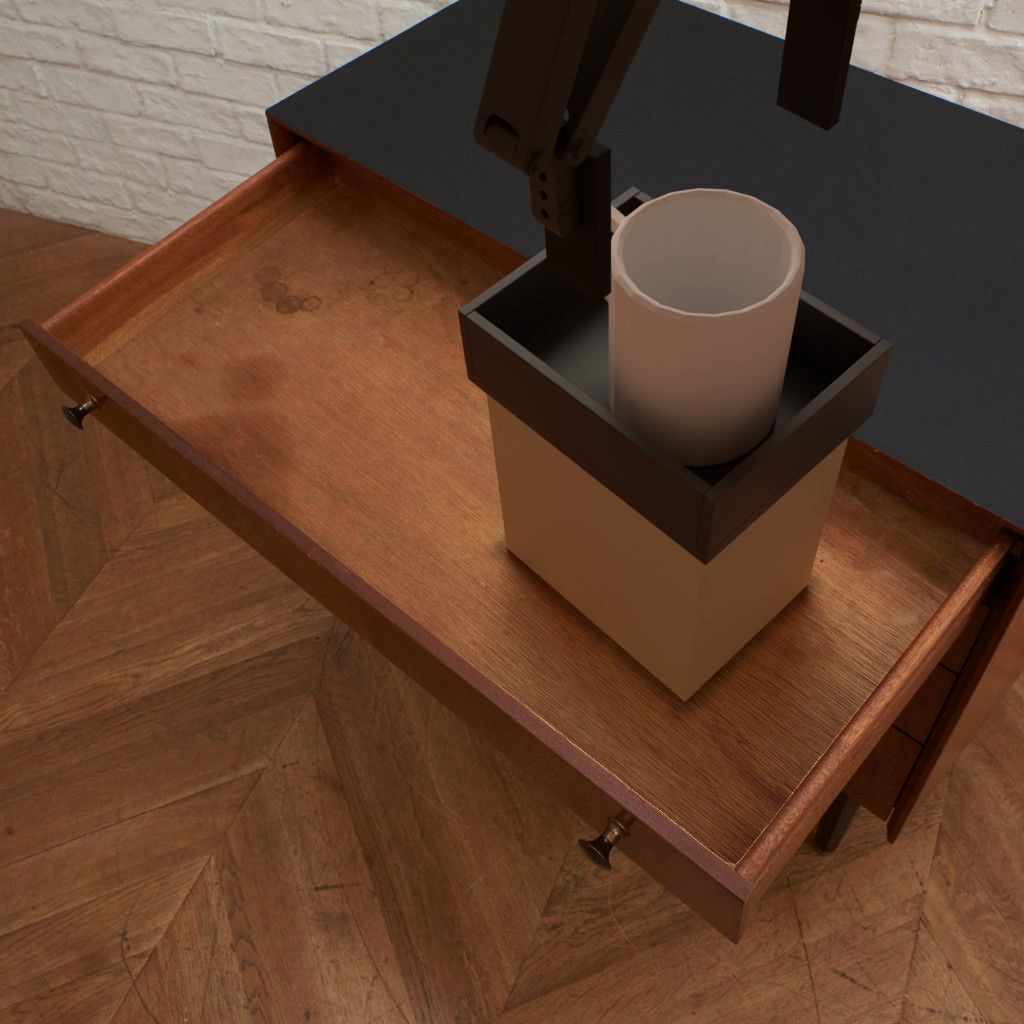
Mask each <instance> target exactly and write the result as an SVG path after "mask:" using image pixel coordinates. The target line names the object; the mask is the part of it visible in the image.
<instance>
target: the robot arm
mask: <svg viewBox="0 0 1024 1024" xmlns="http://www.w3.org/2000/svg"><path fill="white" fill-rule="evenodd" d="M661 1H662V0H505V2H504V6H503V10H502V14H501V18H500V21H499V26H498V30H497V34H496V38H495V41H494V46H493V49H492V54H491V57H490V61H489V66H488V70H487V73H486V78H485V82H484V86H483V90H482V94H481V96H480V97H481V98H480V102H479V106H478V110H477V113H476V117H475V121H474V126H473V132H472V138H473V140H474V142H475V143H476V144H477V145H478V146H480V147H481V148H483V149H484V150H486V151H488V152H489V153H491V154H492V155H494V156H495V157H497V158H499V159H500V160H502V161H504V162H505V163H507V164H509V165H510V166H511V167H513V168H515V169H516V170H517V171H519V172H521V173H522V174H524V175H525V176H527V177H528V182H529V184H528V185H529V196H530V197H529V198H530V209H531V211H530V212H531V215H532V216H533V218H534V219H535V221H536V222H537V223H539V224H540V225H542V226H543V227H544V242H545V248H546V259H547V269H548V270H549V271H551V272H552V273H554V274H555V275H557V276H558V277H560V278H561V279H563V280H564V281H566V282H567V283H569V284H570V285H572V286H573V287H575V288H576V289H577V290H579V291H580V292H582V293H583V294H585V295H586V296H588V297H589V298H591V299H592V300H594V301H595V302H597V303H598V302H599V301H601V300H602V299H603V298H605V297H606V296H607V295H609V294H610V293H611V202H612V149H611V148H610V147H609V146H607V145H606V144H604V143H602V142H600V141H599V140H598V139H597V137H598V135H599V134H600V132H601V129H602V127H603V125H604V122H605V120H606V118H607V116H608V114H609V112H610V109H611V108H612V106H613V104H614V101H615V99H616V97H617V95H618V92H619V91H620V88H621V86H622V84H623V83H624V80H625V78H626V77H627V74H628V72H629V70H630V67H631V65H632V63H633V61H634V59H635V57H636V55H637V52H638V50H639V48H640V47H641V44H642V42H643V39H644V38H645V35H646V34H647V31H648V29H649V27H650V25H651V22H652V20H653V19H654V16H655V14H656V12H657V10H658V7H659V6H660V3H661ZM862 4H863V0H789V5H788V13H787V20H786V27H785V36H784V43H783V51H782V58H781V65H780V73H779V80H778V87H777V95H776V101H775V102H776V103H775V106H777V107H779V108H782V109H784V110H785V111H787V112H790V113H791V114H793V115H794V116H797V117H799V118H801V119H803V120H804V121H807V122H809V123H811V124H812V125H814V126H816V127H818V128H820V129H822V130H823V131H826V132H829V130H831V129H833V128H834V127H835V126H836V125H837V124H839V122H840V117H841V113H842V112H841V111H842V107H843V101H844V95H845V91H846V86H847V85H846V84H847V80H848V75H849V69H850V65H851V59H852V54H853V50H854V49H853V48H854V42H855V37H856V32H857V28H858V27H857V26H858V23H859V20H860V14H861V10H862ZM566 111H567V113H568V117H567V118H566V117H565V113H566Z"/></svg>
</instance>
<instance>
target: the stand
mask: <svg viewBox="0 0 1024 1024" xmlns="http://www.w3.org/2000/svg"><path fill="white" fill-rule="evenodd" d="M485 394H486V393H485ZM486 402H487V410H488V416H489V417H488V418H489V424H490V431H491V438H492V439H491V440H492V447H493V455H494V462H495V463H494V464H495V470H496V476H497V477H496V478H497V485H498V494H499V499H500V505H501V506H500V507H501V514H502V522H503V531H504V537H505V546H506V549H507V550H509V551H510V552H511V553H512V554H513V555H514V556H515V557H517V558H518V559H519V560H520V561H521V562H523V563H524V564H525V565H526V566H527V567H528V568H529V569H530V570H532V571H533V572H534V573H535V574H536V575H538V577H540V578H541V579H542V580H543V581H544V582H545V583H547V584H548V585H549V586H550V587H551V588H552V589H553V590H555V592H557V593H558V594H559V595H560V596H561V597H563V598H564V599H565V600H566V601H568V603H569V604H571V605H572V606H573V607H575V608H576V609H577V610H578V611H579V612H580V613H582V615H584V616H585V617H586V618H587V619H588V620H589V621H591V622H592V623H593V624H594V625H595V626H597V628H598V629H600V630H601V631H602V632H603V633H605V635H607V636H608V637H609V638H610V639H611V640H612V641H614V642H615V643H616V644H617V645H618V646H620V647H621V648H622V649H623V650H624V651H625V652H626V653H628V654H629V655H630V656H631V657H632V659H635V661H636V662H638V663H639V664H640V665H641V666H643V667H644V668H645V669H646V670H647V671H648V672H650V673H651V674H652V676H654V677H655V678H656V679H657V680H659V681H660V682H661V683H662V684H663V685H665V687H667V688H668V689H669V690H670V691H671V692H672V693H674V694H675V695H676V696H677V697H678V698H679V699H680V700H682V701H683V702H684V703H685V702H687V701H688V700H690V698H691V697H692V696H693V695H694V694H695V693H696V692H697V691H699V689H700V688H702V687H703V686H704V685H705V684H706V683H707V682H708V681H709V680H710V679H711V678H712V677H713V676H714V675H715V674H716V673H717V672H718V671H719V670H720V669H721V668H722V667H723V666H725V665H726V663H728V662H729V661H730V660H731V659H732V658H733V657H734V656H735V655H736V654H737V653H738V652H739V651H741V650H742V648H743V647H744V646H746V645H747V644H748V643H749V642H750V641H751V640H752V639H753V638H754V637H756V635H757V634H758V633H759V632H760V631H761V630H762V629H763V628H764V627H765V626H767V625H768V624H769V622H771V621H772V620H773V619H774V618H775V617H776V616H777V615H778V614H779V613H780V612H781V611H782V610H783V609H784V608H785V607H786V606H788V604H790V603H791V602H792V601H793V600H794V599H795V598H796V597H797V596H798V595H799V594H800V593H801V592H802V591H803V590H804V589H806V587H807V586H808V585H809V582H810V578H811V574H812V571H813V568H814V563H815V559H816V556H817V554H818V550H819V546H820V542H821V538H822V535H823V532H824V527H825V525H826V520H827V517H828V514H829V510H830V506H831V504H832V503H831V502H832V499H833V495H834V492H835V488H836V484H837V480H838V477H839V474H840V470H841V467H842V463H843V459H844V455H845V452H846V449H847V445H848V441H849V438H850V436H849V437H848V438H847V439H845V440H844V441H843V442H842V443H841V444H840V445H839V446H838V447H837V448H836V449H834V450H833V451H832V452H831V453H830V454H829V455H828V456H827V457H826V458H824V459H823V460H822V461H821V462H820V463H819V464H818V465H817V466H816V467H814V468H813V469H812V470H811V471H810V472H809V473H808V474H807V475H806V476H805V477H803V478H802V479H801V480H800V481H799V482H798V483H797V484H796V485H795V486H793V487H792V488H791V489H790V490H789V491H788V492H787V493H786V494H785V495H783V496H782V497H781V498H780V499H779V500H778V501H777V502H776V503H775V504H773V505H772V506H771V507H770V508H769V509H768V510H767V511H766V512H765V513H764V514H762V515H761V516H760V517H759V518H758V519H757V520H756V521H755V522H754V523H752V524H751V525H750V526H749V527H748V528H747V529H746V530H745V531H744V532H742V533H741V534H740V535H739V536H738V537H737V538H736V539H735V540H734V541H733V542H731V543H730V544H729V545H728V546H727V547H726V548H725V549H724V550H723V551H721V552H720V553H719V554H718V555H717V556H716V557H715V558H714V559H713V560H711V561H710V562H709V563H708V564H707V565H704V564H703V563H701V562H700V561H699V560H698V559H696V558H695V557H694V556H693V555H691V554H690V553H689V552H687V551H686V550H685V549H684V548H682V547H681V546H680V545H679V544H677V543H676V542H675V541H673V540H672V539H671V538H670V537H668V536H667V535H666V534H665V533H663V532H662V531H661V530H659V529H658V528H657V527H656V526H654V525H653V524H652V523H651V522H649V521H648V520H647V519H645V518H644V517H643V516H642V515H640V514H639V513H638V512H637V511H635V510H634V509H633V508H631V507H630V506H629V505H628V504H626V503H625V502H624V501H623V500H621V499H620V498H619V497H617V496H616V495H615V494H614V493H612V492H611V491H610V490H609V489H607V488H606V487H605V486H603V485H602V484H601V483H600V482H598V481H597V480H596V479H595V478H593V477H592V476H591V475H589V474H588V473H587V472H586V471H584V470H583V469H582V468H581V467H579V466H578V465H577V464H575V463H574V462H573V461H572V460H570V459H569V458H568V457H567V456H565V455H564V454H563V453H561V452H560V451H559V450H558V449H556V448H555V447H554V446H553V445H551V444H550V443H549V442H548V441H546V440H545V439H544V438H542V437H541V436H540V435H539V434H537V433H536V432H535V431H534V430H532V429H531V428H530V427H528V426H527V425H526V424H525V423H523V422H522V421H521V420H520V419H518V418H517V417H516V416H514V415H513V414H512V413H511V412H509V411H508V410H507V409H506V408H504V407H503V406H502V405H500V404H499V403H498V402H497V401H495V400H494V399H493V398H492V397H490V396H489V395H488V394H486Z"/></svg>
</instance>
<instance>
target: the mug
mask: <svg viewBox="0 0 1024 1024" xmlns="http://www.w3.org/2000/svg"><path fill="white" fill-rule="evenodd" d="M653 199H654V200H651V201H649V202H646V203H644V204H642V205H641V206H640V207H639V208H637V209H636V210H635V211H633V212H632V213H631V214H629V215H628V216H627V217H625V216H624V215H623V214H621V213H620V212H619V211H618V210H617V209H616V208H615V207H613V206H612V205H611V231H612V232H613V233H614V235H613V236H612V240H611V293H610V294H609V295H607V296H606V297H605V299H606V301H607V302H608V303H609V406H610V410H611V412H612V413H613V414H615V415H616V416H617V417H619V418H620V419H621V420H623V421H624V422H625V423H627V424H628V425H629V426H631V427H632V428H633V429H635V430H636V431H637V432H639V433H640V434H642V435H643V436H644V437H646V438H647V439H648V440H650V441H651V442H652V443H654V444H655V445H656V446H658V447H659V448H660V449H662V450H663V451H664V452H666V453H667V454H668V455H670V456H671V457H672V458H674V459H675V460H677V461H678V462H679V463H681V464H682V465H683V466H692V467H704V466H710V465H716V464H722V463H727V462H729V461H731V460H733V459H736V458H738V457H740V456H742V455H744V454H746V453H748V452H750V451H751V450H752V449H753V448H754V447H755V446H756V445H757V444H758V443H760V442H761V441H762V440H763V439H764V438H765V437H766V436H767V435H768V433H769V431H770V429H771V427H772V425H773V423H774V421H775V419H776V417H777V413H778V408H779V402H780V397H781V392H782V386H783V381H784V376H785V370H786V365H787V360H788V355H789V349H790V344H791V339H792V333H793V328H794V323H795V317H796V312H797V307H798V301H799V296H800V291H801V289H802V285H803V280H804V276H805V267H806V266H805V265H806V263H805V262H806V246H805V245H804V242H803V240H802V238H801V236H800V234H799V230H798V229H797V227H796V226H795V225H794V224H793V223H792V222H791V221H790V220H789V219H788V218H787V217H786V216H785V215H784V214H783V213H782V212H781V211H780V210H779V209H777V208H775V207H773V206H771V205H770V204H768V203H766V202H764V201H762V200H761V199H758V198H757V197H755V196H753V195H748V194H745V193H741V192H736V191H734V190H729V189H726V188H725V189H724V188H723V189H721V188H705V187H704V188H702V187H698V188H691V189H684V190H678V191H672V192H668V193H666V194H663V195H661V196H659V197H656V198H653Z"/></svg>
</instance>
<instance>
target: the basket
mask: <svg viewBox="0 0 1024 1024" xmlns="http://www.w3.org/2000/svg"><path fill="white" fill-rule="evenodd" d="M654 199H655V198H653V197H652V196H650V195H648V194H647V193H645V192H644V191H641V189H639V188H637V187H636V186H631V187H630V188H628V189H627V190H626V191H624V192H623V193H621V194H620V195H618V196H617V197H616V198H614V199H613V200H611V205H612V206H613V207H615V208H616V209H617V210H618V211H619V212H620V213H621V214H623V215H624V216H625V217H627V216H628V215H629V214H631V213H632V212H633V211H635V210H636V209H637V208H639V207H640V206H641V205H642V204H644V203H646V202H649V201H651V200H654ZM613 235H614V233H613V232H612V231H611V240H612V236H613ZM457 316H458V323H459V330H460V336H461V342H462V350H463V356H464V363H465V366H466V377H467V380H468V381H470V382H471V383H473V385H475V386H476V387H477V388H479V389H480V390H481V391H483V392H484V393H485V394H488V395H489V396H490V397H492V398H493V399H494V400H495V401H497V402H498V403H499V404H500V405H502V406H503V407H504V408H506V409H507V410H508V411H509V412H511V413H512V414H513V415H514V416H516V417H517V418H518V419H520V420H521V421H522V422H523V423H525V424H526V425H527V426H528V427H530V428H531V429H532V430H534V431H535V432H536V433H537V434H539V435H540V436H541V437H542V438H544V439H545V440H546V441H548V442H549V443H550V444H551V445H553V446H554V447H555V448H556V449H558V450H559V451H560V452H561V453H563V454H564V455H565V456H567V457H568V458H569V459H570V460H572V461H573V462H574V463H575V464H577V465H578V466H579V467H581V468H582V469H583V470H584V471H586V472H587V473H588V474H589V475H591V476H592V477H593V478H595V479H596V480H597V481H598V482H600V483H601V484H602V485H603V486H605V487H606V488H607V489H609V490H610V491H611V492H612V493H614V494H615V495H616V496H617V497H619V498H620V499H621V500H623V501H624V502H625V503H626V504H628V505H629V506H630V507H631V508H633V509H634V510H635V511H637V512H638V513H639V514H640V515H642V516H643V517H644V518H645V519H647V520H648V521H649V522H651V523H652V524H653V525H654V526H656V527H657V528H658V529H659V530H661V531H662V532H663V533H665V534H666V535H667V536H668V537H670V538H671V539H672V540H673V541H675V542H676V543H677V544H679V545H680V546H681V547H682V548H684V549H685V550H686V551H687V552H689V553H690V554H691V555H693V556H694V557H695V558H696V559H698V560H699V561H700V562H701V563H703V564H704V565H707V564H708V563H709V562H710V561H711V560H713V559H714V558H715V557H716V556H717V555H718V554H719V553H720V552H721V551H723V550H724V549H725V548H726V547H727V546H728V545H729V544H730V543H731V542H733V541H734V540H735V539H736V538H737V537H738V536H739V535H740V534H741V533H742V532H744V531H745V530H746V529H747V528H748V527H749V526H750V525H751V524H752V523H754V522H755V521H756V520H757V519H758V518H759V517H760V516H761V515H762V514H764V513H765V512H766V511H767V510H768V509H769V508H770V507H771V506H772V505H773V504H775V503H776V502H777V501H778V500H779V499H780V498H781V497H782V496H783V495H785V494H786V493H787V492H788V491H789V490H790V489H791V488H792V487H793V486H795V485H796V484H797V483H798V482H799V481H800V480H801V479H802V478H803V477H805V476H806V475H807V474H808V473H809V472H810V471H811V470H812V469H813V468H814V467H816V466H817V465H818V464H819V463H820V462H821V461H822V460H823V459H824V458H826V457H827V456H828V455H829V454H830V453H831V452H832V451H833V450H834V449H836V448H837V447H838V446H839V445H840V444H841V443H842V442H843V441H844V440H845V439H847V438H848V437H849V438H850V436H851V435H852V434H854V432H856V431H857V430H858V428H860V427H861V426H862V425H863V424H865V422H867V421H868V420H869V419H870V418H871V417H873V414H874V411H875V408H876V405H877V402H878V400H879V395H880V393H881V389H882V385H883V383H884V378H885V375H886V373H887V369H888V366H889V362H890V359H891V355H892V352H893V349H894V344H893V343H891V342H889V341H888V340H886V339H885V338H882V336H879V335H878V334H876V333H874V332H873V331H871V330H869V329H868V328H867V327H865V326H863V325H861V324H859V323H858V322H856V321H855V320H853V319H852V318H850V317H848V316H846V315H845V314H843V313H842V312H840V311H838V310H836V309H835V308H834V307H832V306H830V305H829V304H827V303H825V302H824V301H822V300H820V299H819V298H817V297H815V296H814V295H813V294H810V293H809V292H807V291H806V290H803V289H802V288H801V291H800V296H799V301H798V307H797V312H796V317H795V323H794V328H793V333H792V339H791V344H790V349H789V355H788V360H787V365H786V370H785V376H784V381H783V386H782V392H781V397H780V402H779V408H778V413H777V417H776V419H775V421H774V423H773V425H772V427H771V429H770V431H769V433H768V435H767V436H766V437H765V438H764V439H763V440H762V441H761V442H760V443H758V444H757V445H756V446H755V447H754V448H753V449H752V450H751V451H750V452H748V453H746V454H744V455H742V456H740V457H738V458H736V459H733V460H731V461H729V462H727V463H722V464H716V465H710V466H704V467H692V466H683V465H682V464H681V463H679V462H678V461H677V460H675V459H674V458H672V457H671V456H670V455H668V454H667V453H666V452H664V451H663V450H662V449H660V448H659V447H658V446H656V445H655V444H654V443H652V442H651V441H650V440H648V439H647V438H646V437H644V436H643V435H642V434H640V433H639V432H637V431H636V430H635V429H633V428H632V427H631V426H629V425H628V424H627V423H625V422H624V421H623V420H621V419H620V418H619V417H617V416H616V415H615V414H613V413H612V412H611V410H610V406H609V303H608V302H607V301H606V299H605V298H603V299H602V300H601V301H599V302H598V303H597V302H595V301H594V300H592V299H591V298H589V297H588V296H586V295H585V294H583V293H582V292H580V291H579V290H577V289H576V288H575V287H573V286H572V285H570V284H569V283H567V282H566V281H564V280H563V279H561V278H560V277H558V276H557V275H555V274H554V273H552V272H551V271H549V270H548V269H547V259H546V247H545V248H544V249H542V250H540V251H539V252H538V253H537V254H535V255H534V256H533V257H531V258H530V259H528V260H527V261H525V262H524V263H523V264H521V265H519V266H518V267H517V268H516V269H514V270H512V271H511V272H510V273H508V274H506V275H505V276H504V277H503V278H501V279H500V280H498V281H497V282H496V283H494V284H493V285H491V286H490V287H488V288H487V289H486V290H484V291H483V292H481V293H480V294H478V295H477V296H476V297H474V298H473V299H471V300H470V301H469V302H468V303H466V304H465V305H463V306H462V307H460V308H459V309H458V310H457ZM849 438H848V439H849Z"/></svg>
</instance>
